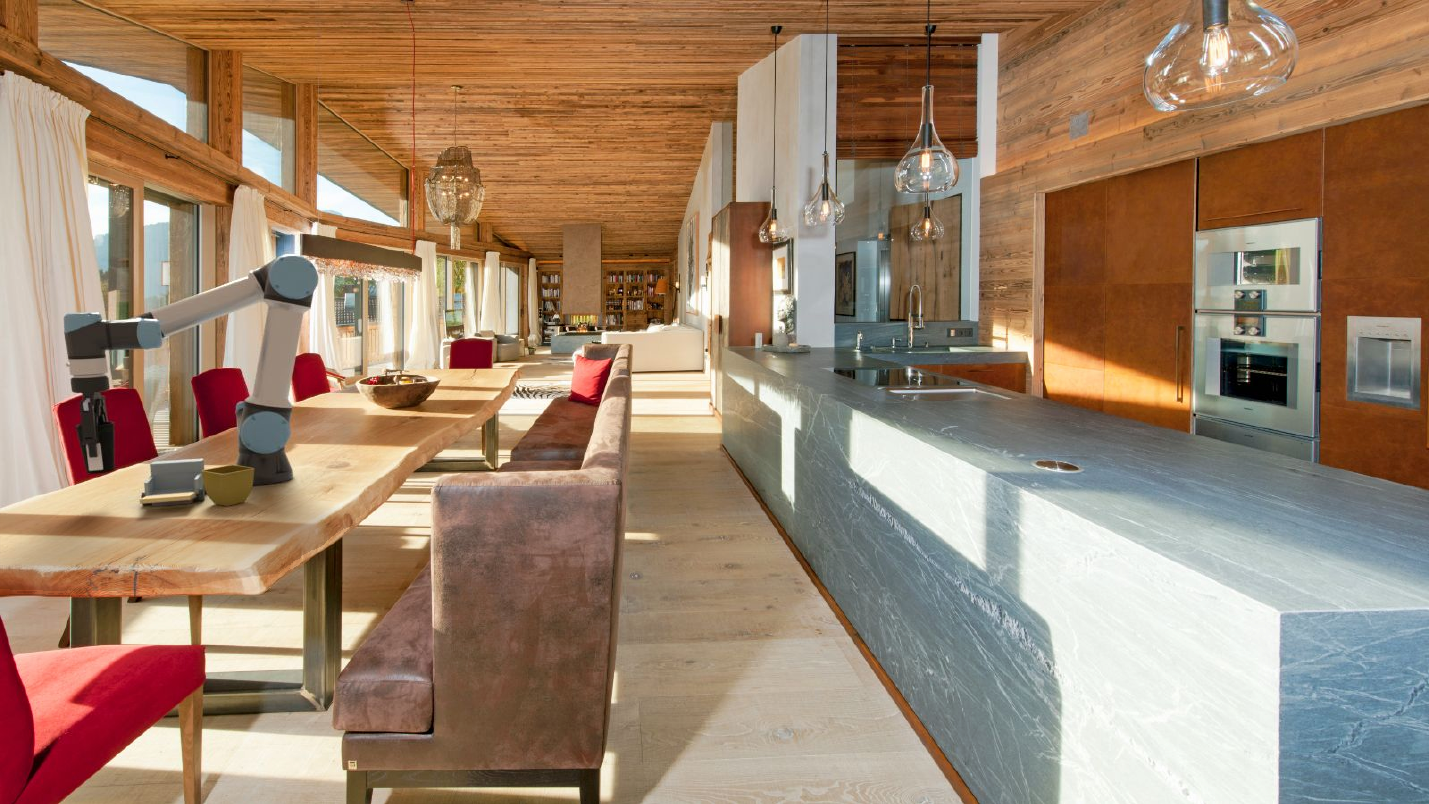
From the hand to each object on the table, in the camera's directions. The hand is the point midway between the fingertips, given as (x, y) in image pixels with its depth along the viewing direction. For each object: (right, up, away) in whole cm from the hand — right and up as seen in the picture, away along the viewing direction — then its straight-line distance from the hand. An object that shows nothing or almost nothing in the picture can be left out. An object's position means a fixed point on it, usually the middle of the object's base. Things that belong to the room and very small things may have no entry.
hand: (100, 466), depth 206 cm
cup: (0, -1, 0) cm, 1 cm away
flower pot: (+29, -10, +5) cm, 32 cm away
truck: (+13, -9, +9) cm, 18 cm away
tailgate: (+16, -8, +2) cm, 18 cm away
